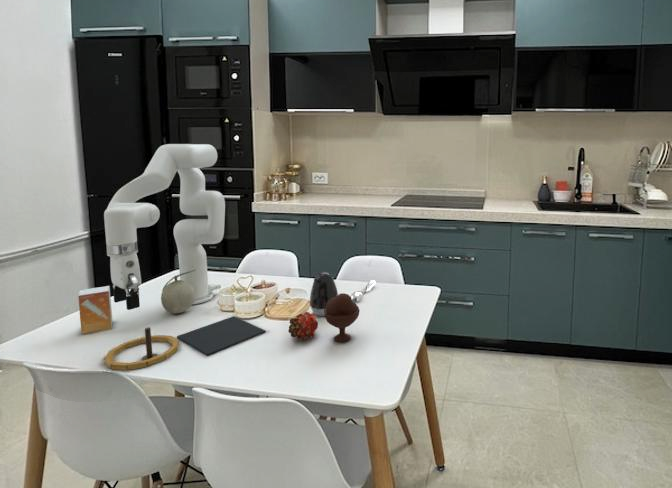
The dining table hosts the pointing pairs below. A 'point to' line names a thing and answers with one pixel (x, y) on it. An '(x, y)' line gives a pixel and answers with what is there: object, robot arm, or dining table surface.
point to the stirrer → (357, 295)
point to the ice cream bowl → (341, 315)
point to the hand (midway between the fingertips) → (126, 304)
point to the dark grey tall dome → (322, 292)
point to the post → (148, 345)
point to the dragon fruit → (303, 326)
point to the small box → (95, 309)
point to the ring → (144, 363)
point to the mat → (220, 335)
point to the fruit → (177, 295)
